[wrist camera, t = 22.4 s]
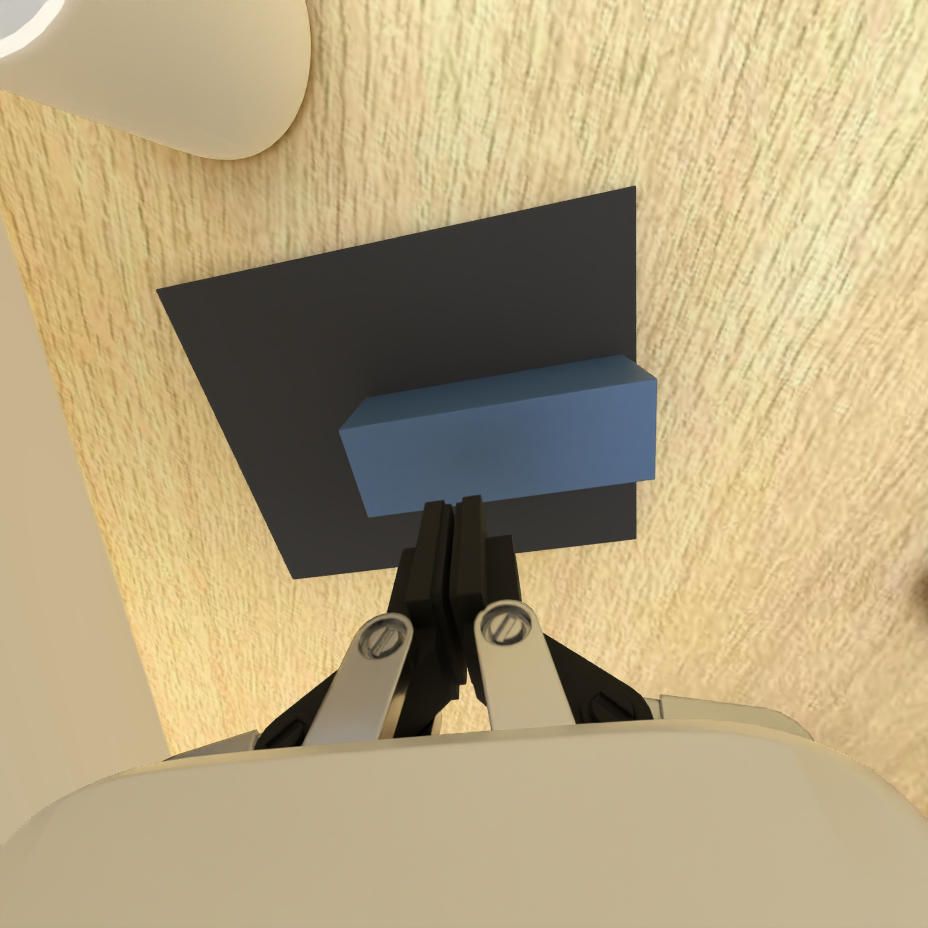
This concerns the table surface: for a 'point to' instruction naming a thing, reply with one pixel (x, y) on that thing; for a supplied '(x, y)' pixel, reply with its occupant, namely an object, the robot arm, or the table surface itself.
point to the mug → (164, 67)
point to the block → (505, 436)
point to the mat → (408, 363)
